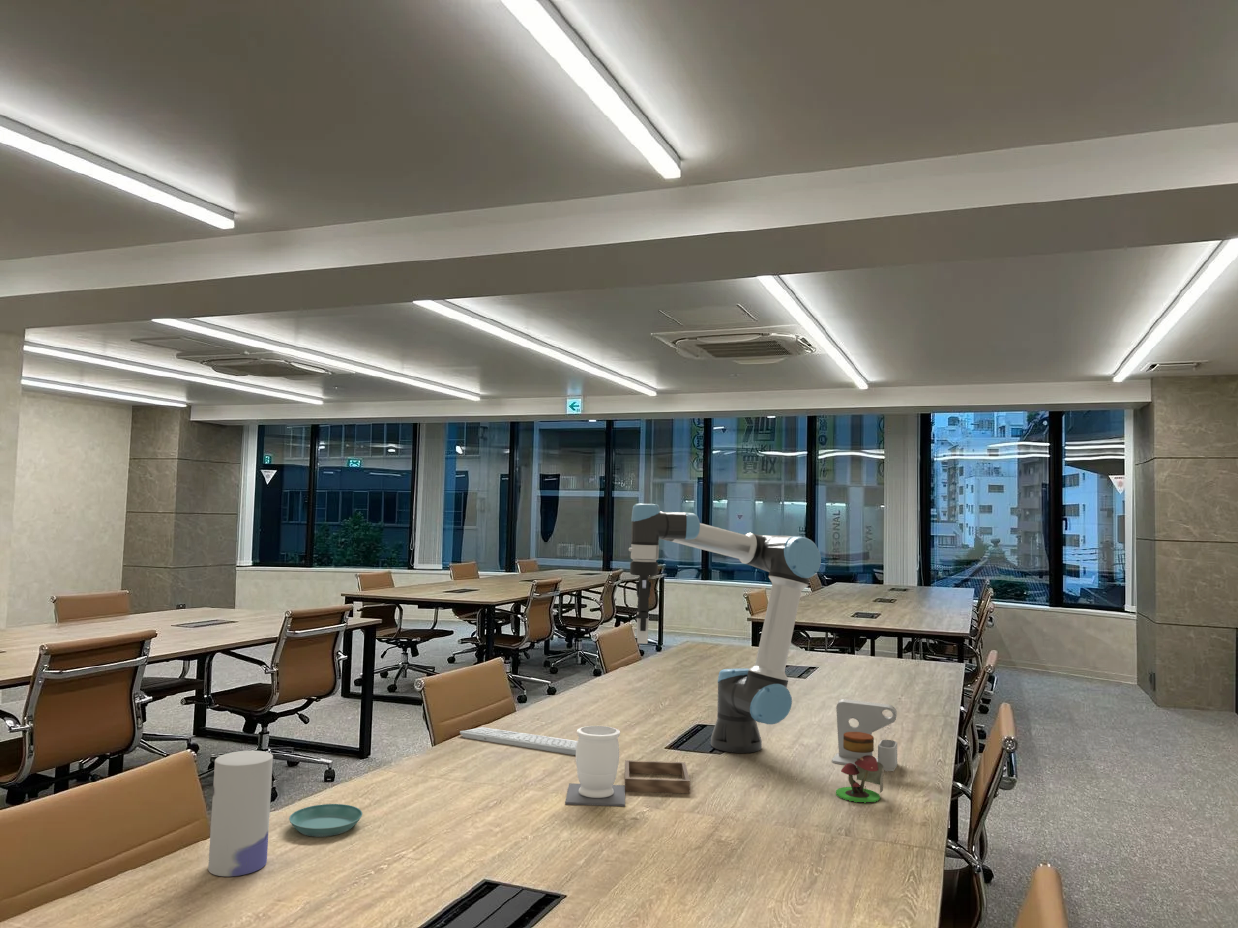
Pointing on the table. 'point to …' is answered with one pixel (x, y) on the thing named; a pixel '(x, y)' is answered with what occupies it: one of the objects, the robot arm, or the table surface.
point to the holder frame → (657, 784)
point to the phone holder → (865, 730)
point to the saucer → (325, 819)
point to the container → (240, 813)
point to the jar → (597, 760)
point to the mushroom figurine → (861, 769)
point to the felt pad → (578, 799)
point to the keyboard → (522, 740)
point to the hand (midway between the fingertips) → (641, 639)
